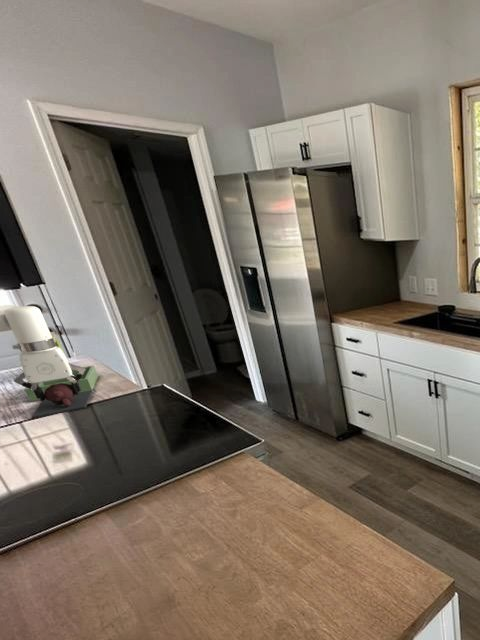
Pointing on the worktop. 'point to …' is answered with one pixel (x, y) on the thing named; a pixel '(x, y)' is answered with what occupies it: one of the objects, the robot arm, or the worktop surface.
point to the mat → (62, 405)
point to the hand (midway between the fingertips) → (60, 396)
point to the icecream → (60, 393)
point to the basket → (69, 382)
